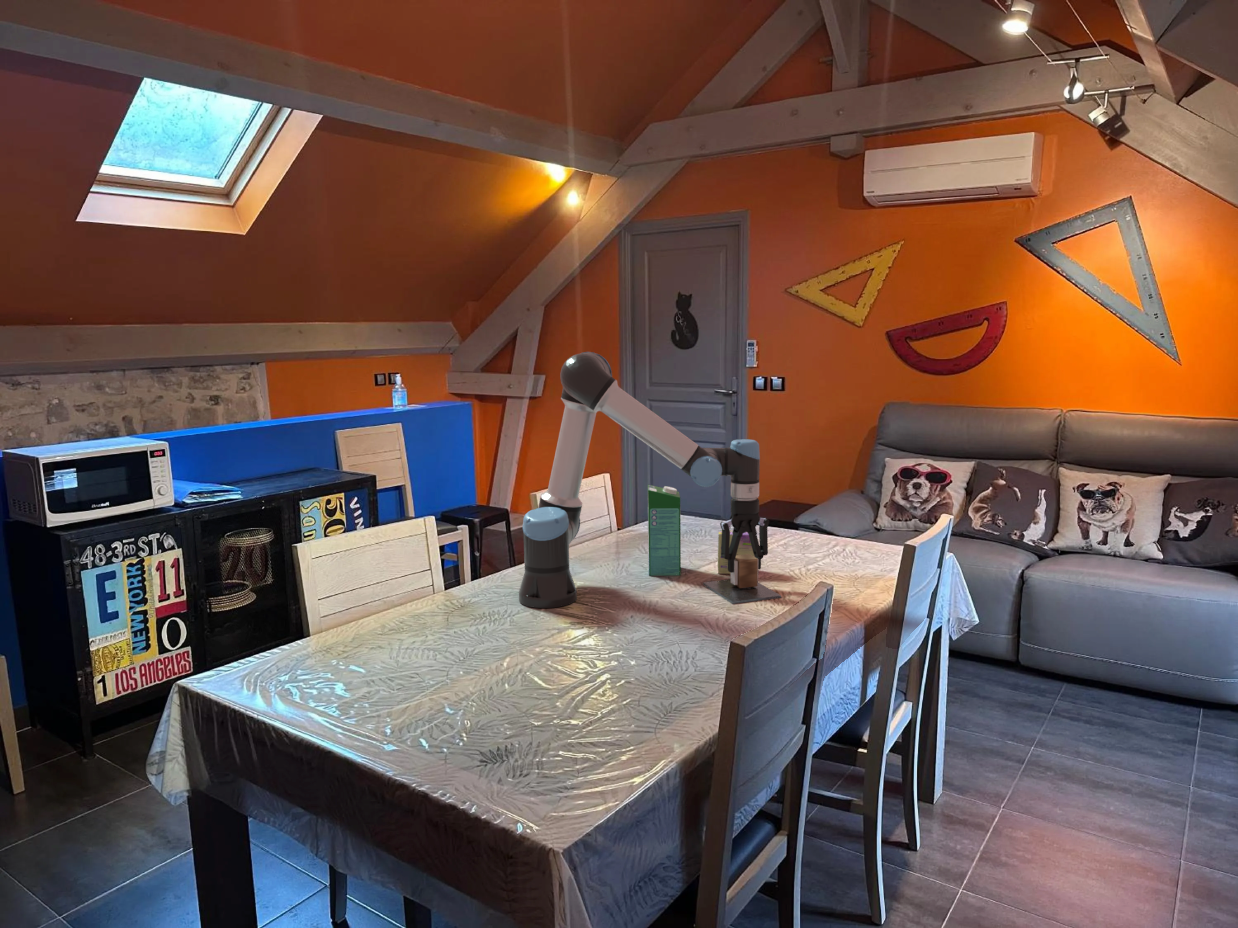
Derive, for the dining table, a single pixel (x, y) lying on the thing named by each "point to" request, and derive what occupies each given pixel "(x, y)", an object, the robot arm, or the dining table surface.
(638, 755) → the dining table surface
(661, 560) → the milk carton
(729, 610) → the dining table surface
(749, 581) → the brown rectangular block
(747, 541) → the box
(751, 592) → the grey plate
